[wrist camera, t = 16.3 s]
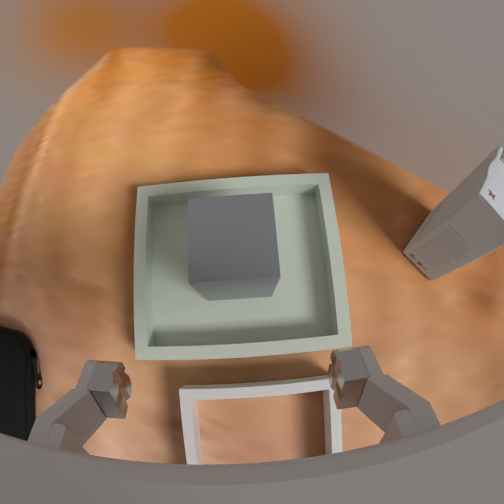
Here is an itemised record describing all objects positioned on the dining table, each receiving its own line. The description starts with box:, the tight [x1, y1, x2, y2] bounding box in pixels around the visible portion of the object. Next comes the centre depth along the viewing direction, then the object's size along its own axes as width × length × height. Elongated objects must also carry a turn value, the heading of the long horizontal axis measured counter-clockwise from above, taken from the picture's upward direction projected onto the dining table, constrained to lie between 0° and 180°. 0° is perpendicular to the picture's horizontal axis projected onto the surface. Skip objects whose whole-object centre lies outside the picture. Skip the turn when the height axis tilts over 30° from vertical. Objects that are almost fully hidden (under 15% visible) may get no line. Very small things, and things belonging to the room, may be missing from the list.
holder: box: [179, 375, 342, 465], centre depth 21 cm, size 12×12×2 cm
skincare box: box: [403, 146, 504, 281], centre depth 21 cm, size 6×4×12 cm
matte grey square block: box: [188, 193, 281, 301], centre depth 22 cm, size 5×5×8 cm
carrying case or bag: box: [0, 326, 42, 441], centre depth 22 cm, size 11×3×15 cm
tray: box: [134, 173, 352, 360], centre depth 25 cm, size 16×14×2 cm
